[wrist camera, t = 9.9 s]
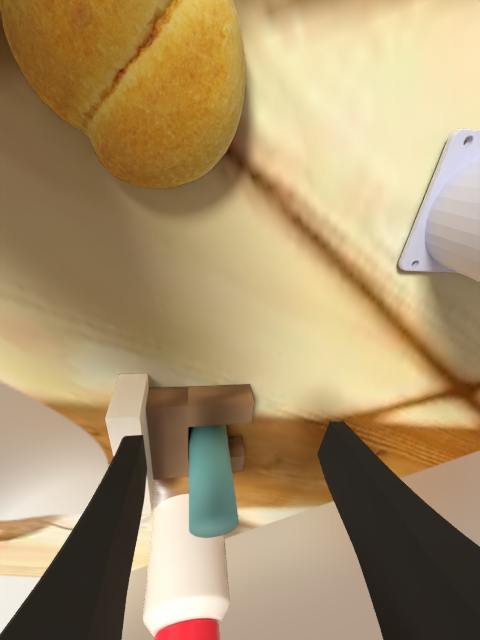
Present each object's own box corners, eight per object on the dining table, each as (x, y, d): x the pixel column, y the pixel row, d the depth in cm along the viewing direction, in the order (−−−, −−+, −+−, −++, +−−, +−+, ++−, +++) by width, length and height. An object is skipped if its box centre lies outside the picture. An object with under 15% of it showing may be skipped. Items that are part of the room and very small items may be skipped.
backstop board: (147, 373, 21) (139, 416, 17) (156, 467, 27) (151, 513, 23) (119, 374, 20) (105, 418, 17) (134, 469, 27) (126, 516, 23)
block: (249, 384, 23) (254, 403, 21) (239, 451, 28) (242, 471, 26) (148, 388, 22) (145, 408, 20) (155, 458, 26) (153, 479, 24)
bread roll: (157, 215, 16) (148, 234, 12) (-10, 32, 11) (-98, -18, 8) (278, 104, 14) (306, 90, 10) (135, -166, 9) (104, -345, 6)
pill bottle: (186, 533, 35) (184, 673, 25) (138, 515, 31) (115, 672, 22) (234, 506, 33) (252, 645, 24) (190, 484, 29) (190, 639, 20)
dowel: (226, 409, 24) (240, 510, 17) (224, 433, 26) (236, 533, 19) (188, 412, 24) (188, 516, 17) (189, 436, 25) (189, 540, 18)
